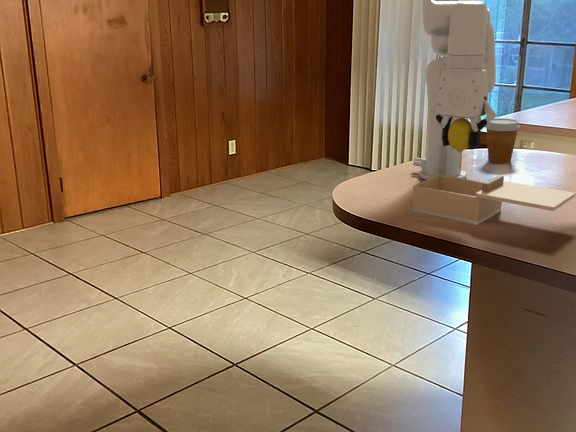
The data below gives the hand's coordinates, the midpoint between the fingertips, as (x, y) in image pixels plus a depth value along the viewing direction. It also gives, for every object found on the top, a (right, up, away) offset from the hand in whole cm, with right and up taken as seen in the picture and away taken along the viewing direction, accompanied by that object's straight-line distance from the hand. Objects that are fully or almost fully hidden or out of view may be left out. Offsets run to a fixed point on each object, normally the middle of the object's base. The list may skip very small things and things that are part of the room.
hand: (460, 145), depth 145 cm
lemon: (0, -2, +1) cm, 2 cm away
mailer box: (0, -14, +5) cm, 15 cm away
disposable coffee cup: (+24, 0, +48) cm, 54 cm away
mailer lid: (+12, -11, -7) cm, 18 cm away
